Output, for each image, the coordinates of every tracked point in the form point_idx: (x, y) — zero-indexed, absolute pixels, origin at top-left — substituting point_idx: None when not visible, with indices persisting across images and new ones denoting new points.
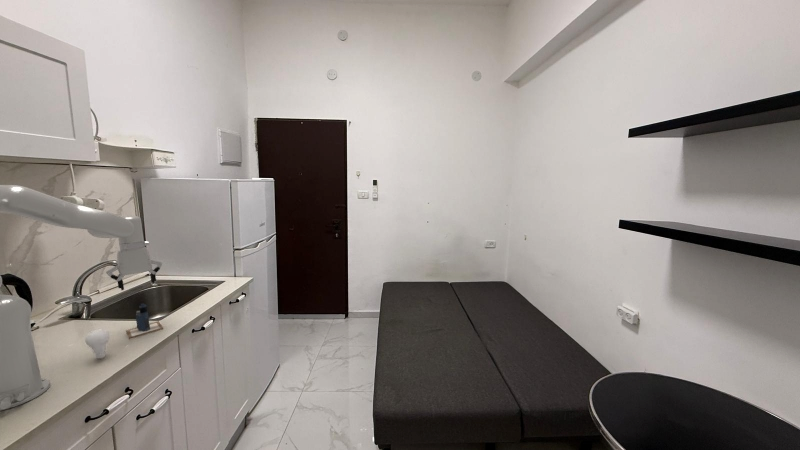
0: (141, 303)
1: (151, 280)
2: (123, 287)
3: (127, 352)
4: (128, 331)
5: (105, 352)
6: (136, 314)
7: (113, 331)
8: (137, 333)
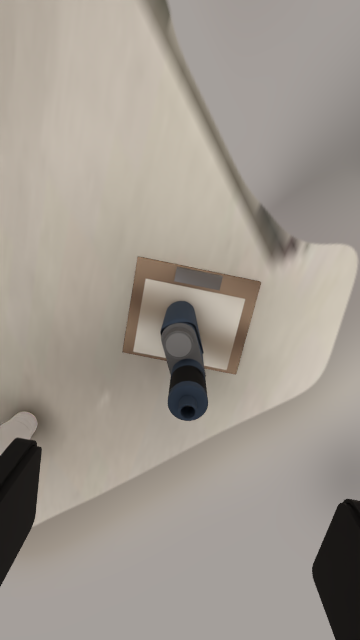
0: (184, 404)
1: (344, 572)
2: (14, 554)
3: (91, 448)
4: (141, 281)
5: (32, 434)
6: (164, 337)
7: (106, 196)
8: (155, 342)
